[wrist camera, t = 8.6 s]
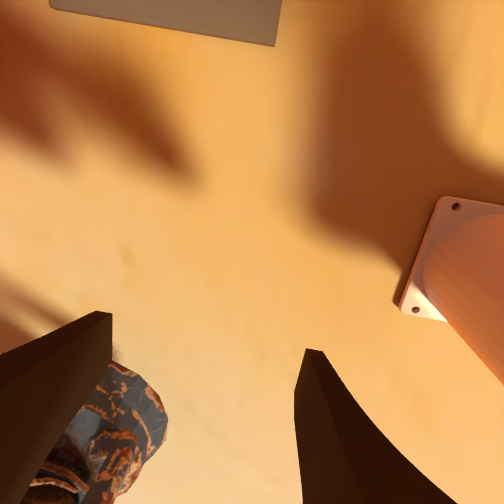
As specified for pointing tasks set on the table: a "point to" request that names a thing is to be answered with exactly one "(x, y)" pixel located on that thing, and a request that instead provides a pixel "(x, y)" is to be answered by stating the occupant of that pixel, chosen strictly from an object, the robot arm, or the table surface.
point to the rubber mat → (190, 16)
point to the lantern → (103, 443)
